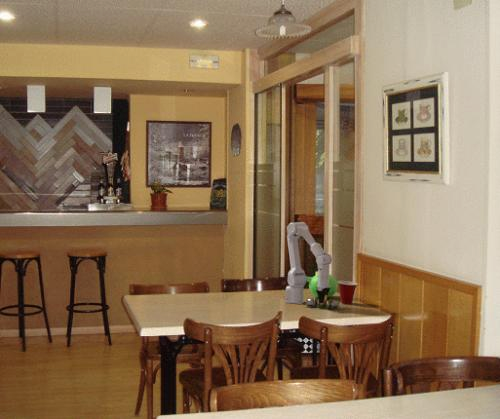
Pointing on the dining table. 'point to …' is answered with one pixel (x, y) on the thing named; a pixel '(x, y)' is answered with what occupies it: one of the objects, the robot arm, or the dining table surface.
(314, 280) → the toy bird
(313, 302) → the grey metal fittings
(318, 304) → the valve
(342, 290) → the plastic cup
